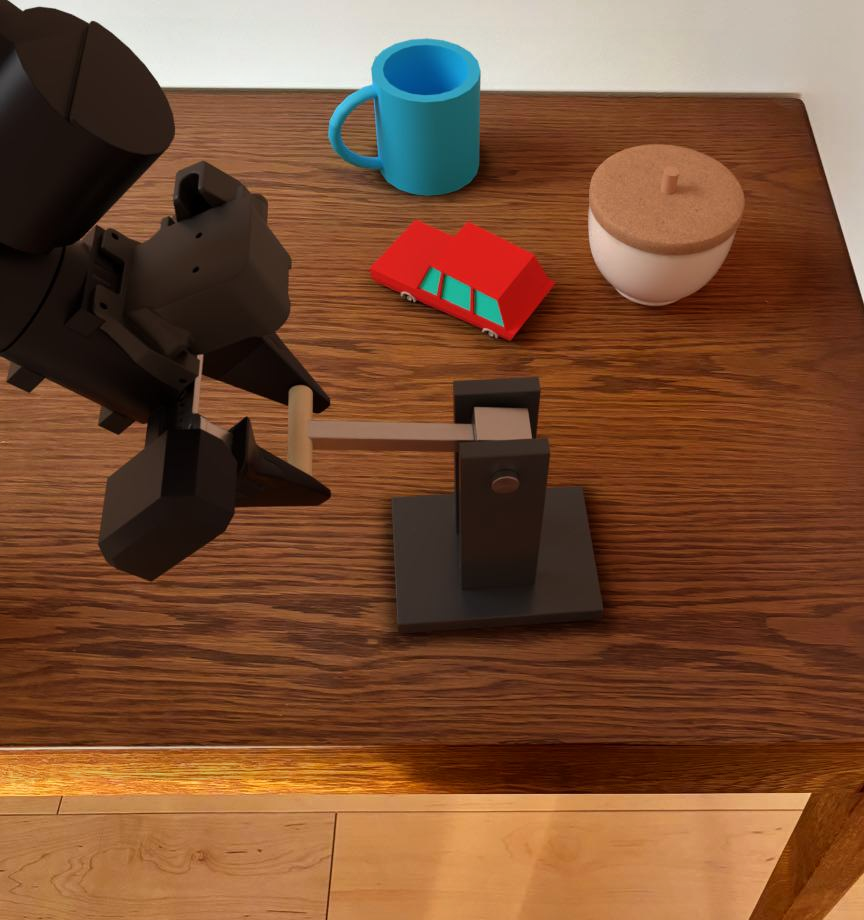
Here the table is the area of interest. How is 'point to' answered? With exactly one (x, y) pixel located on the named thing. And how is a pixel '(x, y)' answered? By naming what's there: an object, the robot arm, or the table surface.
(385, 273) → the toy car
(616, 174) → the trinket box
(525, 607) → the bracket
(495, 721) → the table surface
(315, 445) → the lever
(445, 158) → the mug
